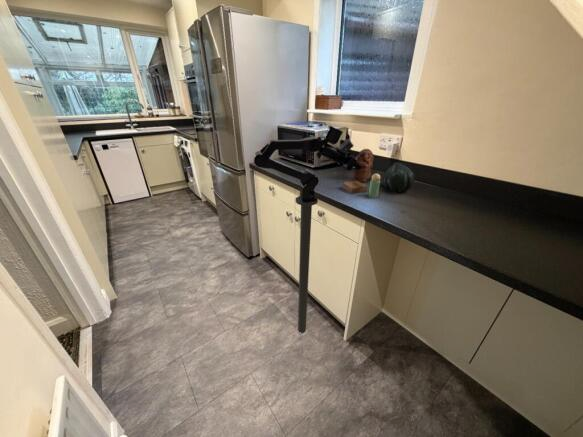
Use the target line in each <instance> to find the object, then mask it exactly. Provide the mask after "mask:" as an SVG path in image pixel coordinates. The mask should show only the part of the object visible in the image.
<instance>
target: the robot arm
mask: <svg viewBox="0 0 583 437" xmlns="http://www.w3.org/2000/svg"><path fill="white" fill-rule="evenodd" d="M343 133H344V131H342V130H341V129H339V128H336V127H334V126H332V125H328V127H327V130H326V132H325V134H324V136H323V135H321V136H317V137H315V136H309V137H304V138H301V139H270V140H269V141H268V142H267V143H266V144H265V145H264V146H263V147H262V148H261V149H260V150H258V151H255V152H254V154H253V156H252V157H253V163H254V165H255V166H256V167H257V168H261V169H267V170H268V169H269V170H270V169H271V170H274V171H277V172H279V173H281V174H284V175H287V176H290V177H292V178H295V179H297V180H299V185H300V186H301V187H299V196H300V197H298V196H297V197H298V199H300V200H301V201H302V202H303V203H306V202H311V201H315V199H313V198H314V197H315V189H316V187H317V186H318V185H319V177H318V176H317V174H316V173H315V172H314V171H313V170H309V169H308V168H304V170H300V169H298V168H295V167H293V166H291V165H288V164H287V163H286V164H285V163H283V162H280V161H278V160H276V159H274V158H272V156H273V154H274V152H275V151H279V150H282V151H286V150H303V151H308V152H311V153H312V152H313V153H314V154H315V155H316V158H317V159H321V158H322V156H323V157H324V158H327V159H328V160H331V161H332V162H335V163H337V164H338V165H342V166H343V168H344V169H345V170H346V171H349V172H350V171H355V170H361V169H362V168H363V167H362V166H360V165H359V164H358V163H357V158H356V157H357V156H354V155H352V154H349V153H348V152H349V151H350V150H351V149H352V148H353V147H354V145H355V144H353V142H352V141H351V139H348V138H345V139H342V138H341V137H342V135H343ZM340 138H341V139H340ZM338 143H339V144H338ZM337 144H338V147H337V146H334V145H337ZM348 154H349V155H348Z"/></svg>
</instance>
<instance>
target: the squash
mask: <svg viewBox="0 0 583 437" xmlns="http://www.w3.org/2000/svg"><path fill="white" fill-rule="evenodd" d="M414 182H415V175H414V172H413V171H412V170H411V169H410V168H409V166H407V165H405V164H402V163H400V162H394V163H393V164H392V165H391V166H390V167H389V168H388V169H387V170H386V171H385V173H384V174H383V178H382V183H383V186H384V187H385V189H386V190H390V191H392V192H398V193H401V192H403V191H407V190H409V189H410V188H411V187H412V186H413V184H414Z"/></svg>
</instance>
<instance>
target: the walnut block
mask: <svg viewBox="0 0 583 437" xmlns="http://www.w3.org/2000/svg"><path fill="white" fill-rule="evenodd" d="M341 186H342V189H343V190H345V191H346V192H348V193H349V194H351V195H352V194H361V193H366V192H367V188H368V186H367V185H366V184H363V182H358V181H354V180H353V181H346V182H345V181H344V182H342V185H341Z"/></svg>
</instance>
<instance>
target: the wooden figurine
mask: <svg viewBox="0 0 583 437" xmlns="http://www.w3.org/2000/svg"><path fill="white" fill-rule="evenodd" d="M355 157H356V158H357V163H358V164H359V165H360V166H362V167H363V168H362V169H361V170H353V172H354V173H353V181H358V182H360V183H365V182H369V180H372V170H373V168H374V158H375V157H374V154H373V151H372V150H371V149H370V148H363V149H361V150H360V151H359V153H358V155H357V156H355Z"/></svg>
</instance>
